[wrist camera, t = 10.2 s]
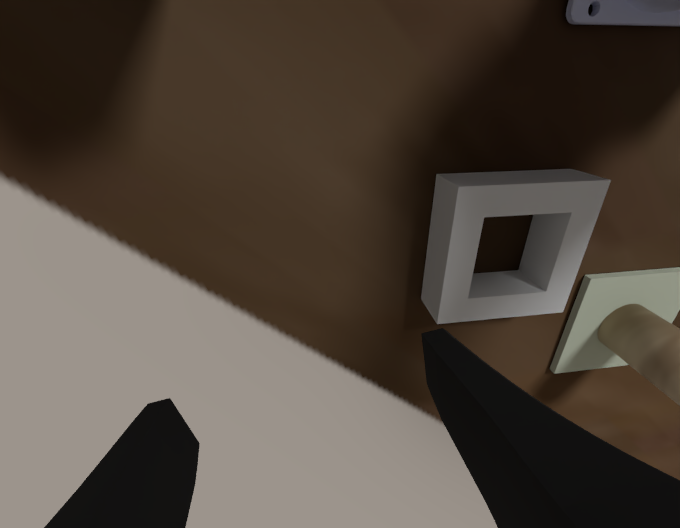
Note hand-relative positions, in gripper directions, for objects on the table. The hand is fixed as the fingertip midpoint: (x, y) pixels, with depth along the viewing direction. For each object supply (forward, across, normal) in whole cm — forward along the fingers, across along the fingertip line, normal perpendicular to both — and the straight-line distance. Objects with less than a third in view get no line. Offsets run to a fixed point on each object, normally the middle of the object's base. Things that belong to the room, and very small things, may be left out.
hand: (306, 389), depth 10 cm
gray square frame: (+9, -11, +2) cm, 14 cm away
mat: (+9, -20, +11) cm, 25 cm away
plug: (+9, -20, +11) cm, 25 cm away
